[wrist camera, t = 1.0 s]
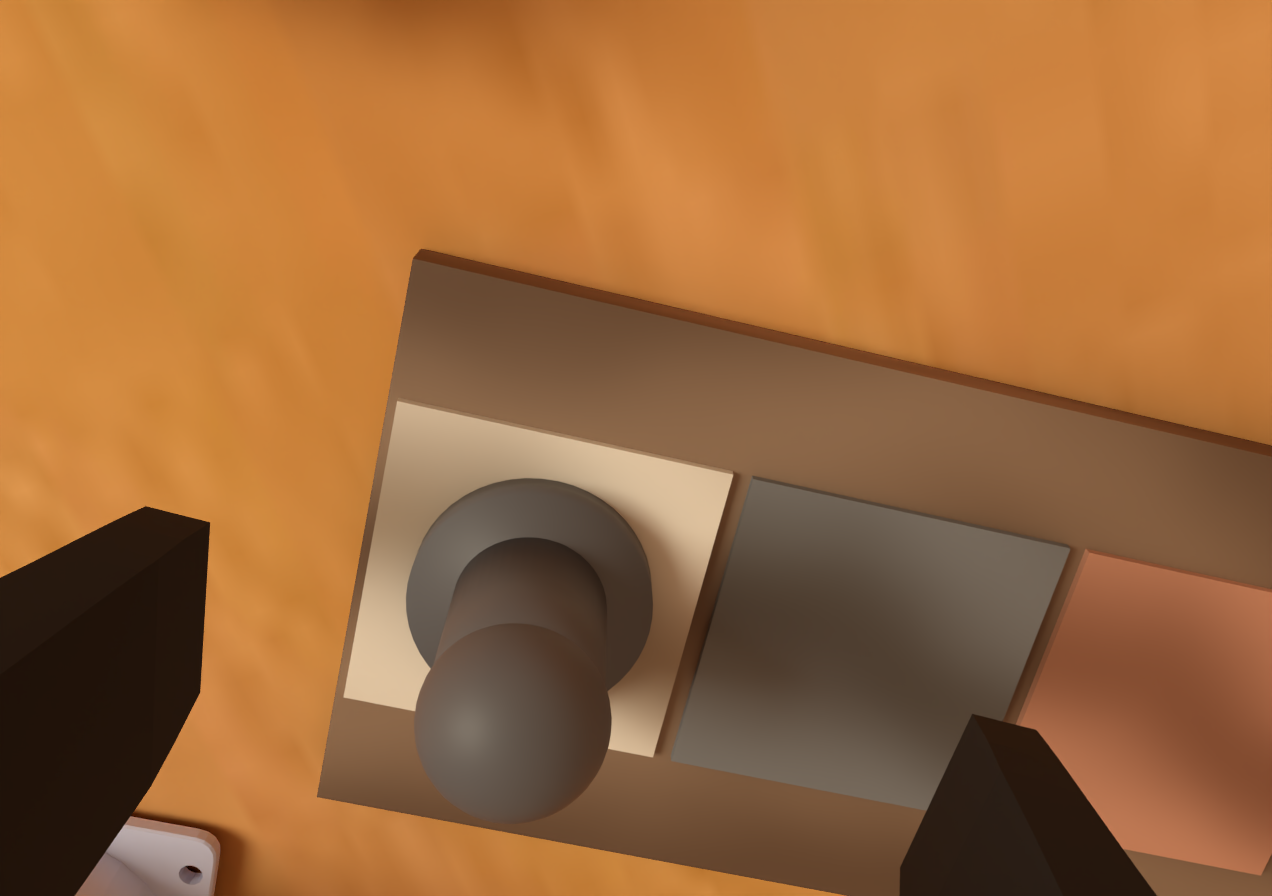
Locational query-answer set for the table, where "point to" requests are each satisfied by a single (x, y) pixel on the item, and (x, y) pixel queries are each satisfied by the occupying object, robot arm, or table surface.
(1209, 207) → the table surface
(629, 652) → the pawn
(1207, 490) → the board
